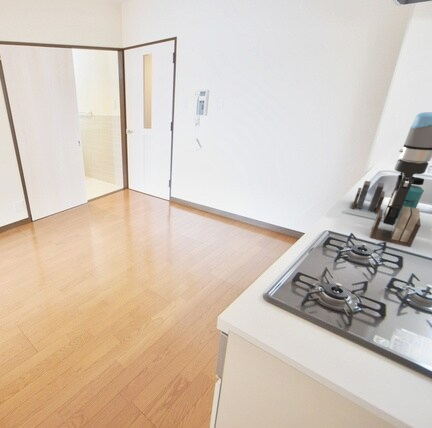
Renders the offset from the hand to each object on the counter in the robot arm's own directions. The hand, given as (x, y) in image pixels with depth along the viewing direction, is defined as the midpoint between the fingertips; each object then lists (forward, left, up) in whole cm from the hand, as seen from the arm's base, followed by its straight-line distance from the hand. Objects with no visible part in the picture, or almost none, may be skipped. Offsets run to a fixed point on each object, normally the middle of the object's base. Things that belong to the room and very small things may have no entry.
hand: (388, 219), depth 105 cm
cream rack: (-2, 0, -7) cm, 7 cm away
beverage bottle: (-4, -16, -7) cm, 18 cm away
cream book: (0, 0, 0) cm, 0 cm away
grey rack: (+7, -25, -7) cm, 26 cm away
